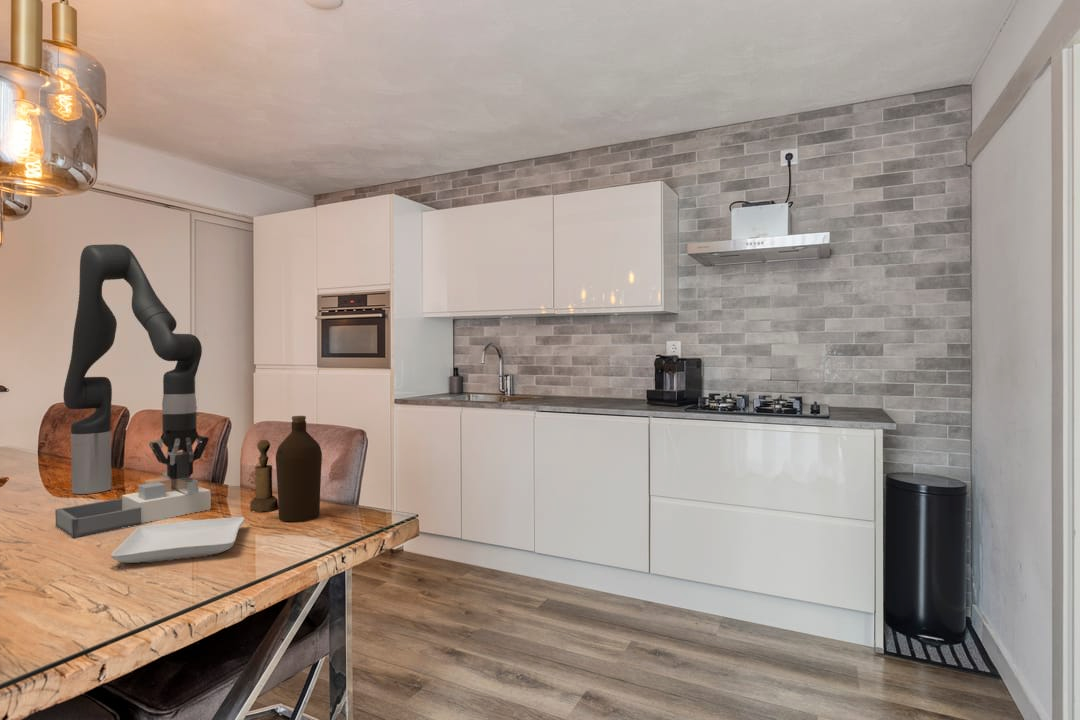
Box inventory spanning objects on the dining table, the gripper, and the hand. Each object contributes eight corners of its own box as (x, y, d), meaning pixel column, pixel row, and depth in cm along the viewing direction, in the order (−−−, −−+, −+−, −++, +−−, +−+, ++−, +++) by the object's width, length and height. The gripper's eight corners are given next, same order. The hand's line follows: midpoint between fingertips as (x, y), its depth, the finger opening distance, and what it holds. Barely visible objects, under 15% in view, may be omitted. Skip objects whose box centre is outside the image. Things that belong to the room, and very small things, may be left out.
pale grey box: (138, 497, 147) (138, 485, 146) (158, 493, 150) (158, 482, 150) (145, 500, 144) (144, 487, 144) (165, 496, 147) (165, 484, 147)
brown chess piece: (244, 510, 153) (243, 441, 153) (264, 504, 159) (264, 437, 159) (263, 513, 150) (263, 442, 150) (283, 507, 156) (283, 439, 156)
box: (55, 526, 139) (55, 509, 139) (120, 514, 149) (120, 498, 149) (73, 538, 131) (72, 520, 130) (141, 524, 141) (140, 507, 141)
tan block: (144, 491, 152) (144, 480, 152) (164, 488, 156) (164, 477, 155) (151, 494, 149) (151, 482, 149) (171, 491, 153) (171, 479, 153)
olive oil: (309, 524, 142) (309, 419, 141) (267, 522, 143) (266, 418, 142) (329, 511, 152) (329, 414, 152) (290, 510, 153) (289, 413, 153)
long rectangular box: (122, 514, 149) (122, 495, 149) (191, 502, 161) (191, 483, 161) (139, 523, 141) (139, 502, 141) (210, 509, 154) (210, 490, 154)
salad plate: (138, 539, 131) (138, 524, 131) (245, 529, 139) (245, 514, 139) (108, 573, 111) (107, 555, 111) (234, 559, 119) (234, 542, 119)
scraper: (161, 484, 158) (161, 450, 157) (173, 482, 160) (173, 448, 160) (186, 494, 148) (186, 458, 148) (199, 492, 150) (199, 457, 150)
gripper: (202, 408, 161) (202, 471, 162) (143, 412, 150) (143, 480, 151) (214, 410, 157) (215, 475, 157) (154, 414, 146) (155, 484, 146)
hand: (180, 477), depth 154 cm, fingers closed on scraper, 3 cm apart
